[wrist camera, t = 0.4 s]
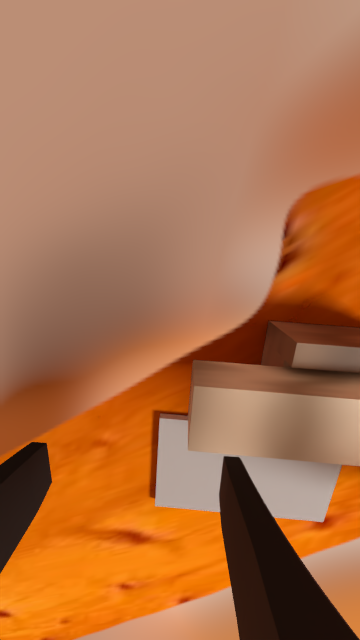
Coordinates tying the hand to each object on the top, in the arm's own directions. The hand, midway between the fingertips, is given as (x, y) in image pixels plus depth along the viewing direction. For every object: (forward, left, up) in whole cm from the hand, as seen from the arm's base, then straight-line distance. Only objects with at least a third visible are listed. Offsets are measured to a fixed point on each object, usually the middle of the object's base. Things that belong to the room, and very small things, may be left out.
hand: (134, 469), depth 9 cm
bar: (-8, 0, -6) cm, 10 cm away
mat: (-8, +10, -9) cm, 16 cm away
